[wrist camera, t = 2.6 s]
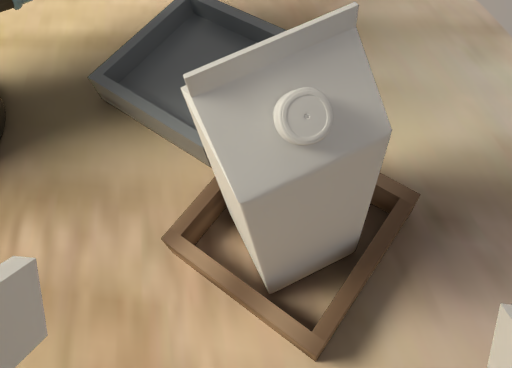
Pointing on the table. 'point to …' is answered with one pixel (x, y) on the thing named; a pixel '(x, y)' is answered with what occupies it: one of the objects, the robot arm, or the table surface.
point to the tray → (175, 64)
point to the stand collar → (311, 343)
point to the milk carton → (294, 142)
